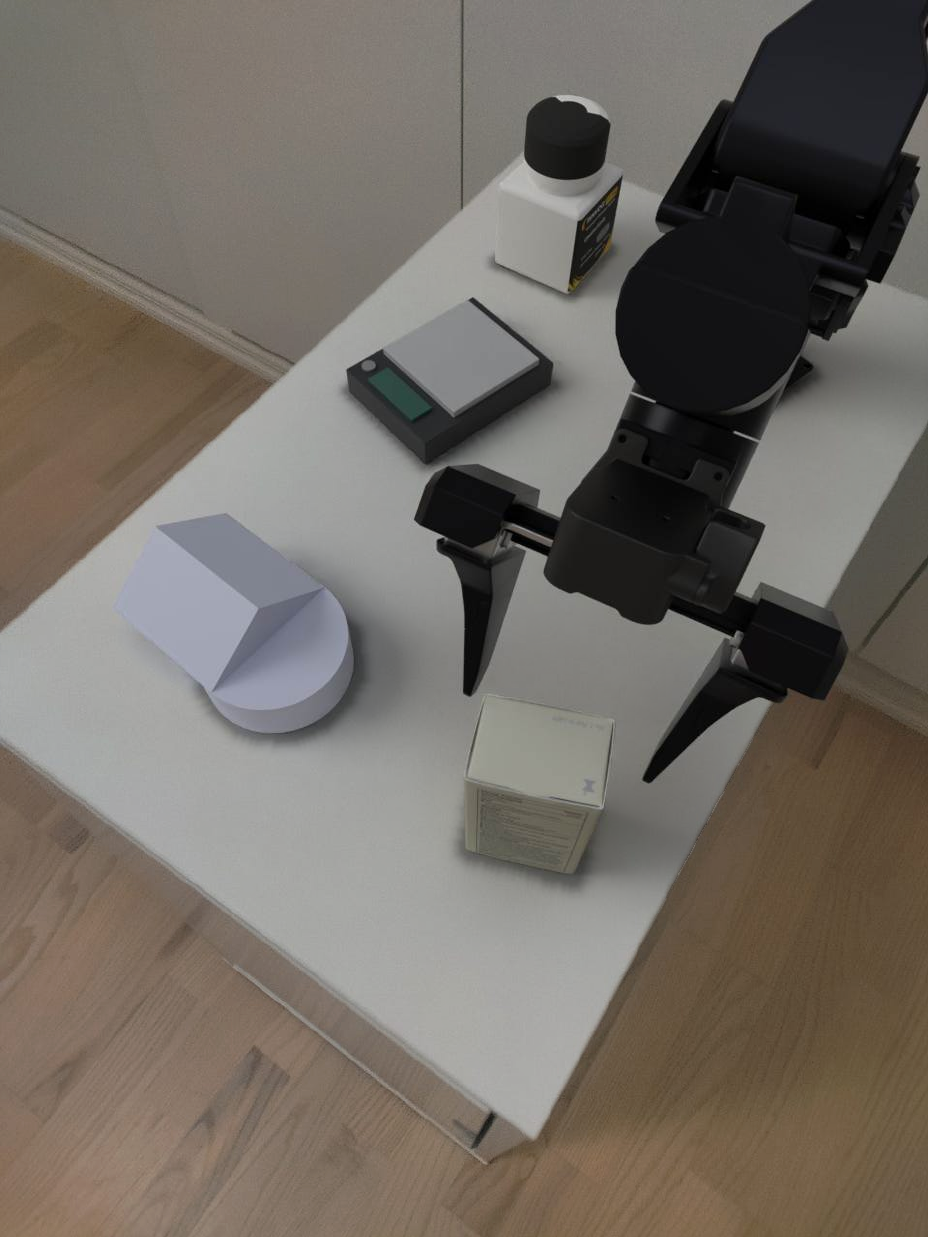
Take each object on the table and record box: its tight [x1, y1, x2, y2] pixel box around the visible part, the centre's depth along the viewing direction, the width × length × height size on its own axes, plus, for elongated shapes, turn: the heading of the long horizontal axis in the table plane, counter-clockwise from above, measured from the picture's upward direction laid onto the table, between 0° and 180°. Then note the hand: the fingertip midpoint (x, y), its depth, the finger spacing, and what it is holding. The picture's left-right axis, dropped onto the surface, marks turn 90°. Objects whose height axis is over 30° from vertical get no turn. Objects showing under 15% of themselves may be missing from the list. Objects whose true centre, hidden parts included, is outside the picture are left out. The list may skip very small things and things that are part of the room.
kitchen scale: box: [345, 296, 554, 465], centre depth 63 cm, size 12×9×3 cm
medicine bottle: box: [494, 94, 624, 295], centre depth 67 cm, size 7×7×12 cm
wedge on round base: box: [112, 512, 355, 734], centre depth 51 cm, size 9×7×13 cm
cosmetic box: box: [463, 693, 617, 875], centre depth 43 cm, size 6×4×12 cm
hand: (555, 735), depth 41 cm, fingers open, 9 cm apart
